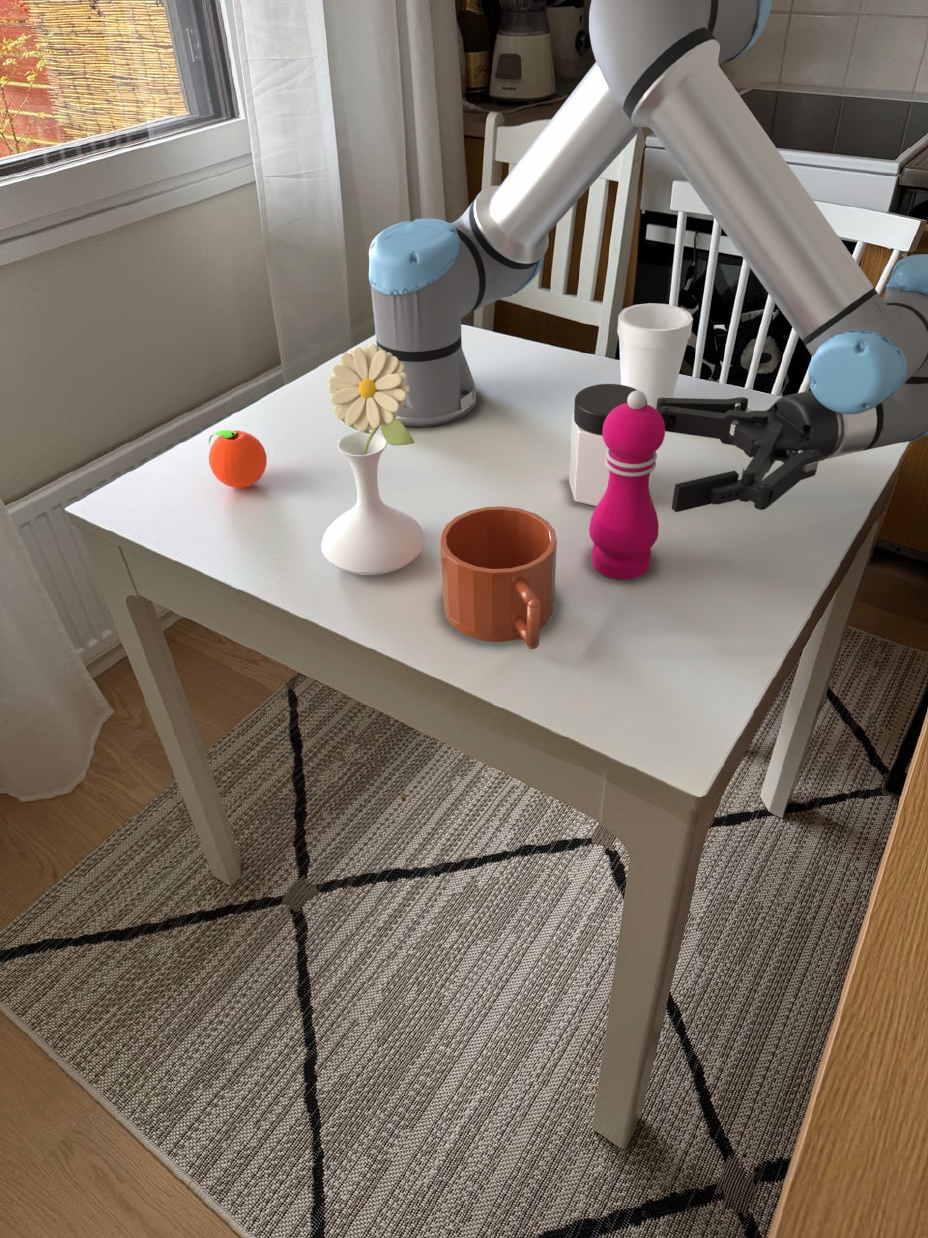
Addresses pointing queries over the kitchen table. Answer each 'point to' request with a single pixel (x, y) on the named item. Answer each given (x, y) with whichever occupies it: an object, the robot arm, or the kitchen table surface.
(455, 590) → the terracotta coffee mug
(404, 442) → the flower in vase
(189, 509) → the kitchen table surface
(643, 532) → the pepper mill
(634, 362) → the foam cup
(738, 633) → the kitchen table surface
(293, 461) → the kitchen table surface
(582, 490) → the jar
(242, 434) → the clementine
